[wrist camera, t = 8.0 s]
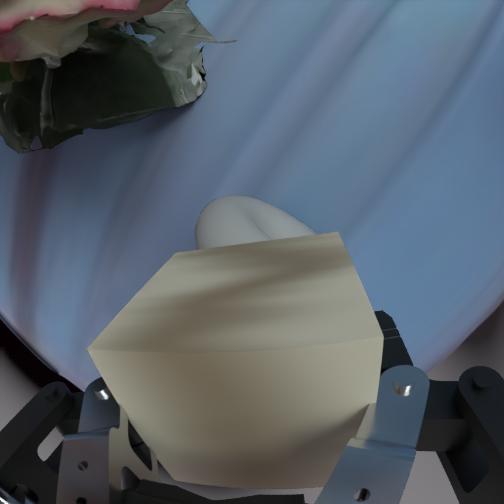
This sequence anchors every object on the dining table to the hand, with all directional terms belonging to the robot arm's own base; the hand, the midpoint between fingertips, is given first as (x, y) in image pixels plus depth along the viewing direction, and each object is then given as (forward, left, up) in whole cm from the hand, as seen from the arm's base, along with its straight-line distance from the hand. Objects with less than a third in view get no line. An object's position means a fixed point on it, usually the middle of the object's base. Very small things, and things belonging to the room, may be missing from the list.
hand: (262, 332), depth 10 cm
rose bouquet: (+13, -23, -13) cm, 30 cm away
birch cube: (0, 0, -1) cm, 1 cm away
